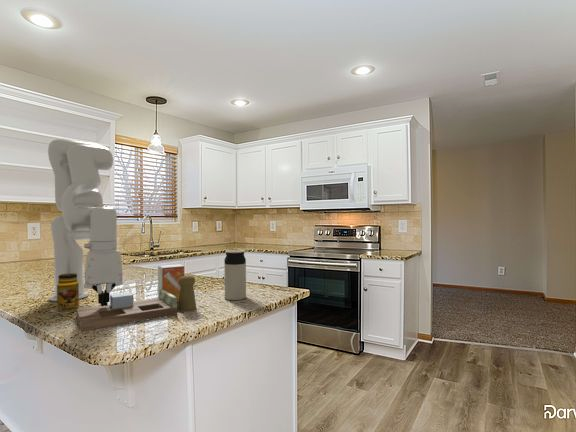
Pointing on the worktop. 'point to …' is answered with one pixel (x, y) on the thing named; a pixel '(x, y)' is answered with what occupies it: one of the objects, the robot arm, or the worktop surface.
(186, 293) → the pepper mill
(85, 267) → the robot arm
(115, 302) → the block
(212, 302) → the worktop surface
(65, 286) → the condiment
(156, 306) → the board
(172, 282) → the small box
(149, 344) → the worktop surface
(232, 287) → the travel mug
